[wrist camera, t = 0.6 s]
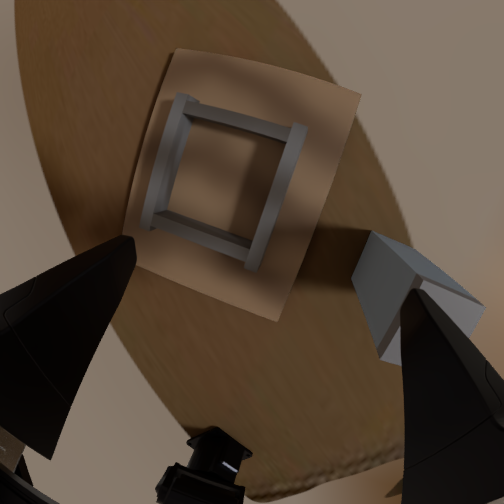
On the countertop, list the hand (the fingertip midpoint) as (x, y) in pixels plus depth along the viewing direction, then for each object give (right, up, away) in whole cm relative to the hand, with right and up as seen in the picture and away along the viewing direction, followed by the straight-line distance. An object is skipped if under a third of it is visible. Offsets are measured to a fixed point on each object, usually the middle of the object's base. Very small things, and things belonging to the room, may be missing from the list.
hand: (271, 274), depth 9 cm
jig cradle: (-3, +7, +15) cm, 17 cm away
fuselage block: (+10, 0, +15) cm, 18 cm away
